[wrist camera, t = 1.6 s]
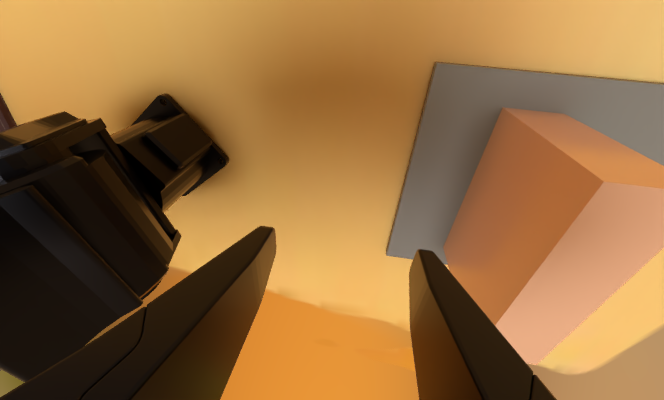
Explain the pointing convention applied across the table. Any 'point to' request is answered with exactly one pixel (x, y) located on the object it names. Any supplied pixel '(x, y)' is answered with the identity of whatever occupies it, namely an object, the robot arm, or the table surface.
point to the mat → (478, 123)
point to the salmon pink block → (553, 226)
